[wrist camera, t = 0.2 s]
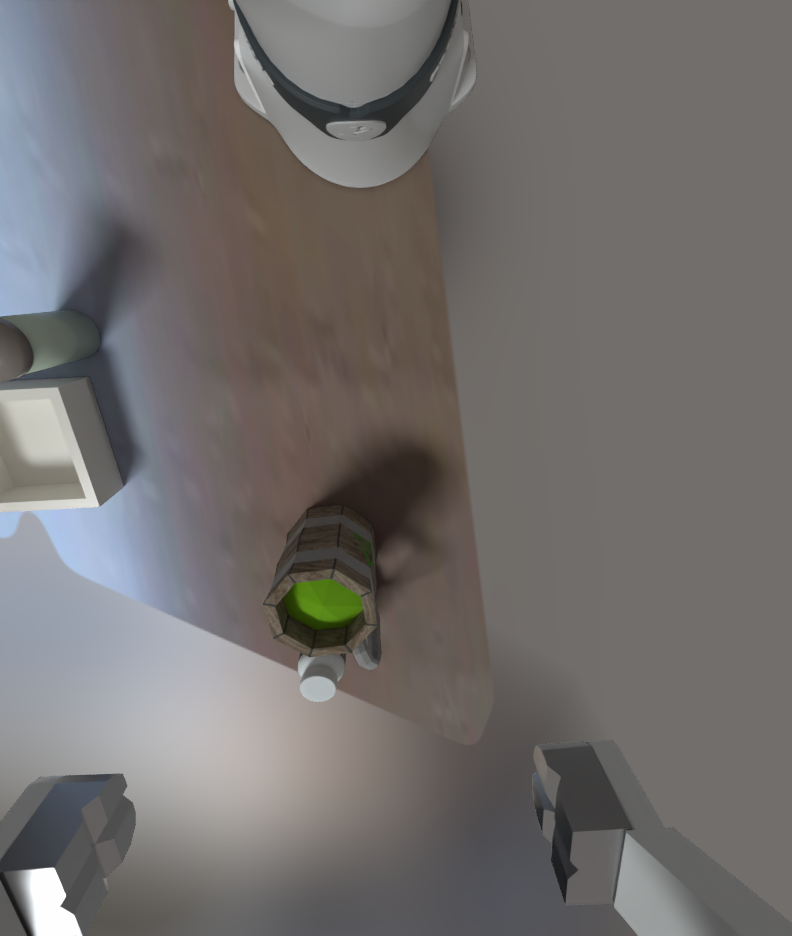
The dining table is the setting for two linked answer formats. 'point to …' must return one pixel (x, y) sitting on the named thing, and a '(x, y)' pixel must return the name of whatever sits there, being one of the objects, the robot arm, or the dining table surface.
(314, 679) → the pill bottle
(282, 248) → the dining table surface
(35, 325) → the spice jar
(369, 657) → the mug
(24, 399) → the bin
